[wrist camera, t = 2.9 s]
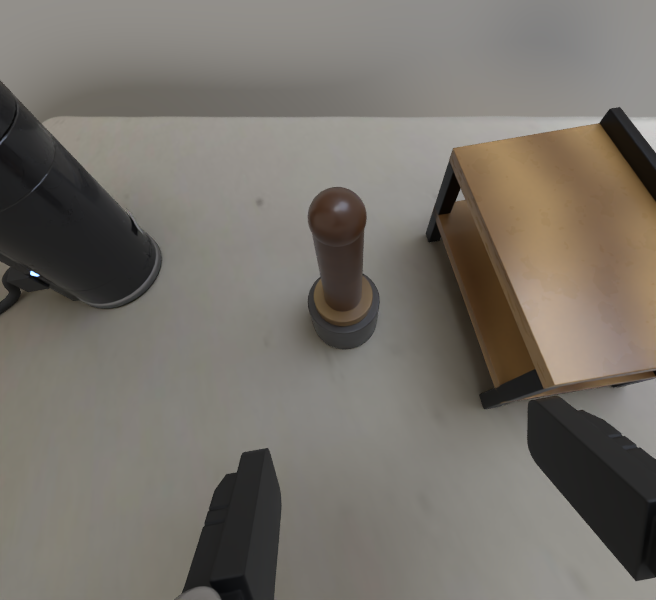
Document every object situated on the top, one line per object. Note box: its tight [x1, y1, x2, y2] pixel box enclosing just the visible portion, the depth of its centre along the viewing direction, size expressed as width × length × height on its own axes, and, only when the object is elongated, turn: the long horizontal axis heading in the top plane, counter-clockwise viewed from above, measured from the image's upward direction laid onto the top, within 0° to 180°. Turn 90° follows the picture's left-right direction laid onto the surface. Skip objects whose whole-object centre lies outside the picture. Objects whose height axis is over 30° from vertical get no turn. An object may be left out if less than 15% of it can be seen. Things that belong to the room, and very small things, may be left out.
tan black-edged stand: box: [426, 107, 656, 409], centre depth 26 cm, size 12×18×12 cm, turn 9°
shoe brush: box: [308, 187, 379, 349], centre depth 25 cm, size 6×6×17 cm
